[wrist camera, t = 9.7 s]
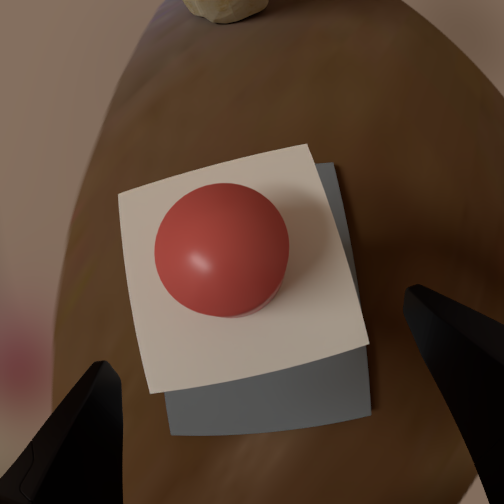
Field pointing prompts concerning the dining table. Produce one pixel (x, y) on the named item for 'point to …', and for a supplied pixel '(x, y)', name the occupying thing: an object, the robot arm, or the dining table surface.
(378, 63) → the dining table surface
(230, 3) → the food model
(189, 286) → the big red button box
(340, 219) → the placemat
